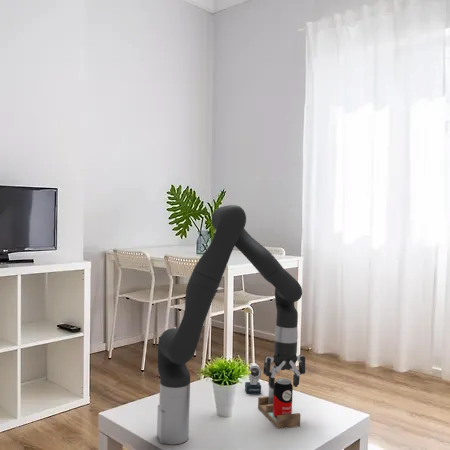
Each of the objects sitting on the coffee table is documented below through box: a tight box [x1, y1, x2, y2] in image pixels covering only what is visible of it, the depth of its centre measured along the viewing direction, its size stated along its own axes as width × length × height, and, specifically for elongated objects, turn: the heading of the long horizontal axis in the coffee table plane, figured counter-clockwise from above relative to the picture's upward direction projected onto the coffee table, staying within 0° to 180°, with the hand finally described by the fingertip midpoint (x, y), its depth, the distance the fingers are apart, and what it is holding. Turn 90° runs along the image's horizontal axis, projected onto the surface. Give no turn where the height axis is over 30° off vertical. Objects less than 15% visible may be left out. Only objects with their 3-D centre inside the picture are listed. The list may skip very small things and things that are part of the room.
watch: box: [244, 362, 263, 395], centre depth 197 cm, size 6×8×11 cm
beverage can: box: [273, 377, 294, 417], centre depth 171 cm, size 6×6×12 cm
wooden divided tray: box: [257, 385, 301, 429], centre depth 175 cm, size 8×17×10 cm, turn 18°
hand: (283, 387), depth 171 cm, fingers open, 8 cm apart
